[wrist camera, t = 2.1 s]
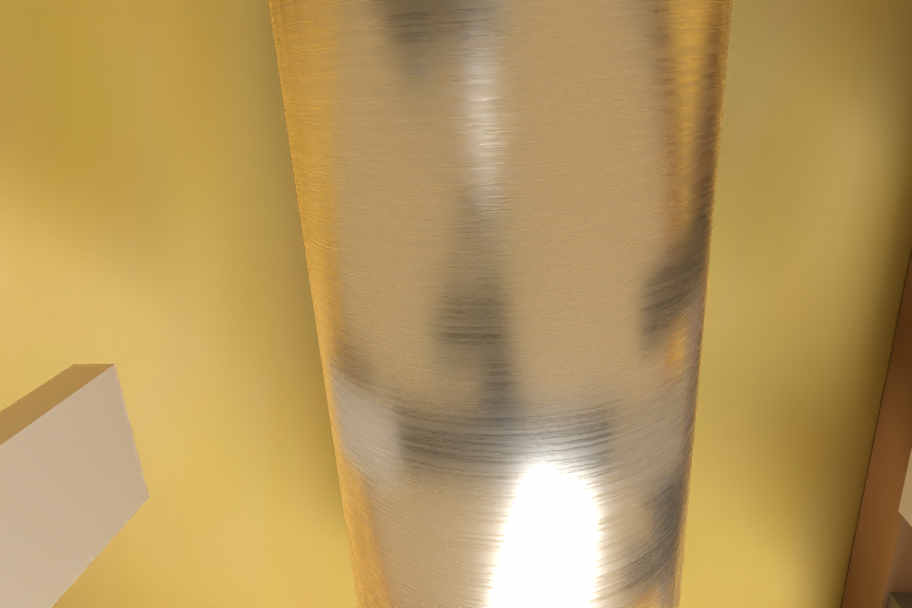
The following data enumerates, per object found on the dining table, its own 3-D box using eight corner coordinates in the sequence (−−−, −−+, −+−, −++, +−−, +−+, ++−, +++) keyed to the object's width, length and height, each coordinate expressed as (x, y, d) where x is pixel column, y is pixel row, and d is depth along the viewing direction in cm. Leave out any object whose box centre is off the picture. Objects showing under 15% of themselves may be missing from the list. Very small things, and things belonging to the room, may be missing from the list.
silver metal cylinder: (282, -203, 9) (78, -538, 4) (664, -227, 9) (946, -592, 4) (399, 723, 15) (379, 1037, 10) (619, 710, 15) (704, 1018, 10)
